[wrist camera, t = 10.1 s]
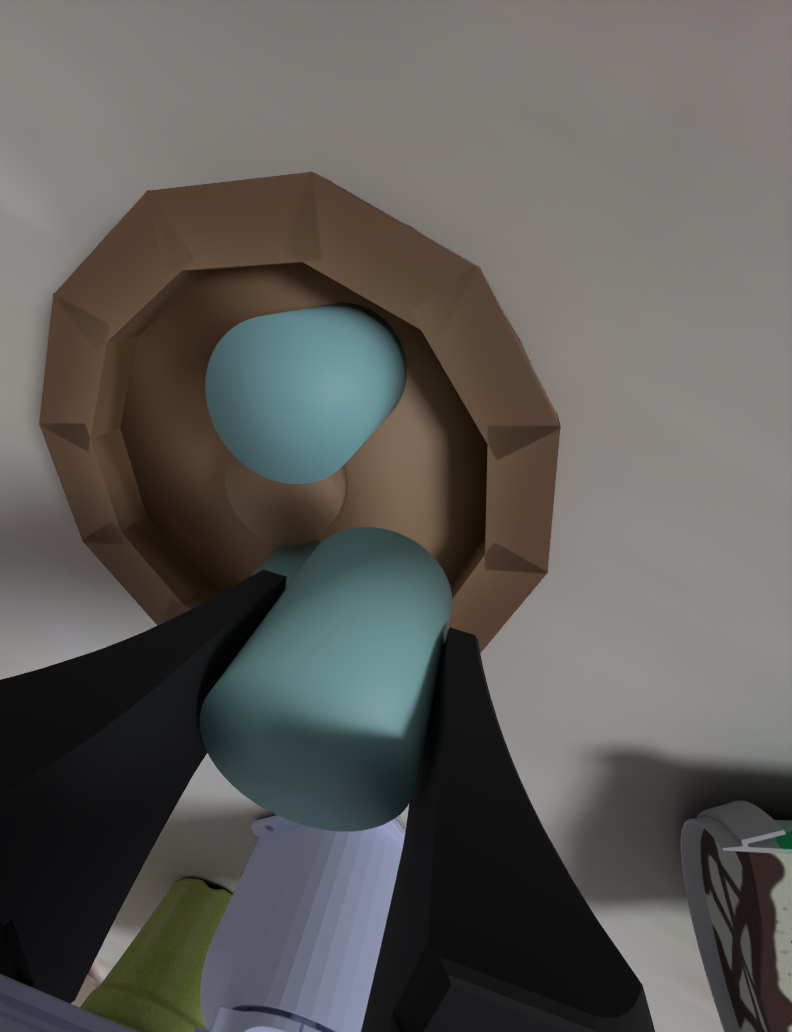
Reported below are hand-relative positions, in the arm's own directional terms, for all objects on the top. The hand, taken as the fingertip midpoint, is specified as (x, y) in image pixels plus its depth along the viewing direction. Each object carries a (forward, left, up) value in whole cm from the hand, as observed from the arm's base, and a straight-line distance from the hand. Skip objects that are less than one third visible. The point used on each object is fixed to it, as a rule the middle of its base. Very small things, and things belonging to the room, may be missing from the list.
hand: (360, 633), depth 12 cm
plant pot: (-31, -20, -8) cm, 38 cm away
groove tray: (-3, +3, -8) cm, 9 cm away
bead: (+1, +5, -7) cm, 9 cm away
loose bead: (0, 0, -1) cm, 1 cm away
